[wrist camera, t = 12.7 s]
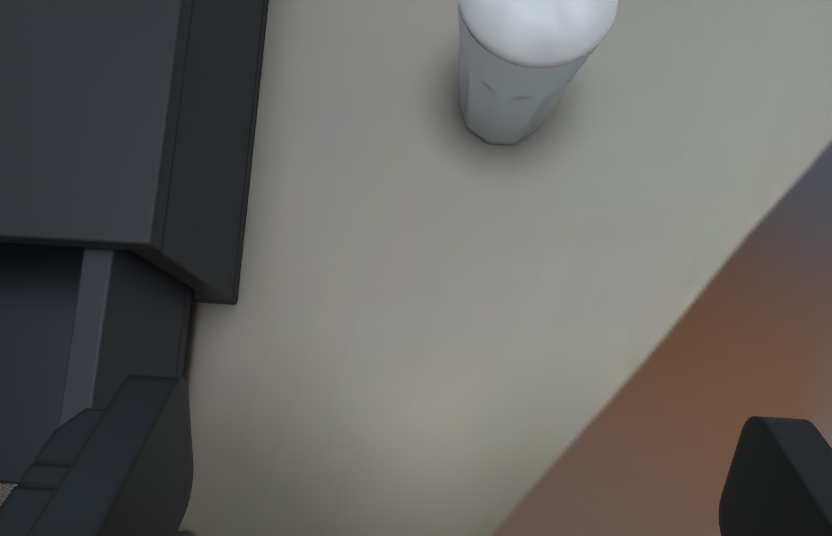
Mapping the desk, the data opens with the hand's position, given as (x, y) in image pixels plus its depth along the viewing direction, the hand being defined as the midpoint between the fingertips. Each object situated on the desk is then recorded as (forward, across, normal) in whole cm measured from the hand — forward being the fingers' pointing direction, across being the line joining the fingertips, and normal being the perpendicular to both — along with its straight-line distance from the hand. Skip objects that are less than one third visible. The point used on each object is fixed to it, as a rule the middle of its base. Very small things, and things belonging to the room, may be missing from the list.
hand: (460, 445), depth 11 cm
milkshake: (+20, -3, 0) cm, 21 cm away
